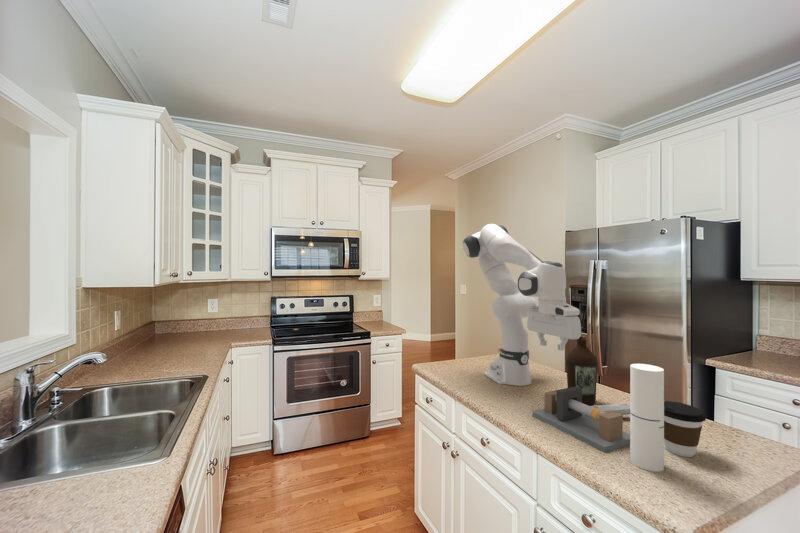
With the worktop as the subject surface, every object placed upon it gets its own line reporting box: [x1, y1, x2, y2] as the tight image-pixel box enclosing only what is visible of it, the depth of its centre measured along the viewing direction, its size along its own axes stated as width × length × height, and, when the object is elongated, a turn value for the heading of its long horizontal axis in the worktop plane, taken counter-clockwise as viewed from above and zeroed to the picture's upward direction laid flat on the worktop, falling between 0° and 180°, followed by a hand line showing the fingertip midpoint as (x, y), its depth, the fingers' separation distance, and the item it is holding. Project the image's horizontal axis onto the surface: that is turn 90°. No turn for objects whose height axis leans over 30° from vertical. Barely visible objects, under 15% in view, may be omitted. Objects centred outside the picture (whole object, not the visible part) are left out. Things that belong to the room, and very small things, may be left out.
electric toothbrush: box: [586, 402, 630, 417], centre depth 117 cm, size 5×7×25 cm
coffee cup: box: [664, 400, 707, 458], centre depth 96 cm, size 11×11×12 cm
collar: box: [556, 386, 582, 421], centre depth 113 cm, size 2×9×9 cm, turn 114°
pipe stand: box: [532, 389, 630, 453], centre depth 110 cm, size 26×14×8 cm, turn 25°
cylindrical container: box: [629, 363, 665, 473], centre depth 90 cm, size 7×7×25 cm
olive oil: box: [565, 334, 598, 406], centre depth 132 cm, size 11×11×25 cm
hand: (552, 347), depth 120 cm, fingers open, 6 cm apart
